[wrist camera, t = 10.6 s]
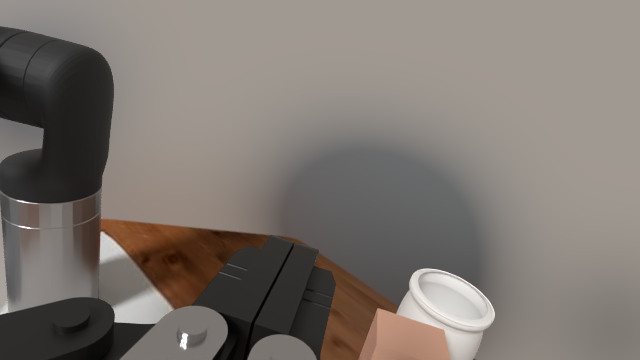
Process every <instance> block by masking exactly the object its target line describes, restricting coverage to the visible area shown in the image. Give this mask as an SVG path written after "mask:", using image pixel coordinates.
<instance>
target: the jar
mask: <svg viewBox="0 0 640 360" xmlns="http://www.w3.org/2000/svg"><path fill="white" fill-rule="evenodd" d="M409 287H410V290H409V291H408V293H407V294H406V295H405V297H404V299H403V300H402V302H401V304H400V306H399V308H398V311H397V313H396V314H397V315H400V316H403V317H406V318H409V319H412V320H415V321H418V322H421V323H424V324H428V325H431V326H434V327H437V328H440V329H443V330H444V332H445V336H446V341H447V345H448V350H449V354H450V359H451V360H473V359H474V357H475V355H476V353H477V351H478V349H479V346H480V343H481V340H482V336H483V331H484V330H485V329H487V328H488V327H489V326H490V325H491V324H492V322H493V320H494V316H495V313H494V309H493V307H492V305H491V303H490V302H489V300H488V299H487V298H486V297H485V296H484V295H483V294H482V293H481V292H480V291H479V290H478V289H477V288H475V287H474V286H473V285H471V284H470V283H468V282H467V281H465V280H463V279H461V278H460V277H457V276H455V275H453V274H450V273H448V272H445V271H441V270H436V269H421V270H418V271H416V272H415V273H414V274H413V275H412V278H411V279H410V283H409Z"/></svg>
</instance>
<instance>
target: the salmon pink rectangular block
mask: <svg viewBox="0 0 640 360" xmlns="http://www.w3.org/2000/svg"><path fill="white" fill-rule="evenodd" d="M359 360H451V359H450V354H449V350H448V345H447V341H446V336H445V332H444V330H443V329H440V328H437V327H434V326H431V325H428V324H424V323H421V322H418V321H415V320H412V319H409V318H406V317H403V316H400V315H397V314H394V313H391V312H388V311H385V310H382V309H379V308H378V309H377V312H376V314H375V317H374V320H373V322H372V325H371V328H370V330H369V333H368V336H367V338H366V341H365V344H364V346H363V349H362V352H361V354H360V357H359Z"/></svg>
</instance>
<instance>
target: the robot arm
mask: <svg viewBox="0 0 640 360" xmlns="http://www.w3.org/2000/svg"><path fill="white" fill-rule="evenodd" d="M113 99H114V84H113V76H112V72H111V69H110V66H109V64H108V62H107V61H106V60H105V58H104V57H103V56H102V55H101V54H100V53H99V52H98V51H96V50H94V49H92V48H89V47H86V46H83V45H80V44H76V43H72V42H69V41H65V40H61V39H57V38H53V37H49V36H45V35H41V34H37V33H33V32H29V31H25V30H19V29H14V28H7V27H0V118H4V119H7V120H11V121H15V122H19V123H23V124H28V125H31V126H36V127H40V128H44V136H43V137H44V138H43V147H42V149H34V150H29V151H23V152H20V153H16V154H14V155H11V156H9V157H7V158H5V159H4V160H3V161H2V162H1V163H0V207H1V219H2V232H3V245H4V258H5V270H6V283H7V298H8V311H9V313H6V314H2V315H0V360H320V352H321V348H322V343H323V339H324V334H325V330H326V326H327V321H328V317H329V312H330V308H331V303H332V299H333V295H334V290H335V286H336V283H335V280H334V278H333V275H332V272H331V271H328V270H325V269H322V268H319V267H316V266H315V264H316V260H317V257H318V253H319V250H318V249H315V248H312V247H309V246H305V245H302V244H299V243H296V244H295V242H292V241H289V240H286V239H283V238H280V237H277V236H273V235H271V236H270V237H269V239H268V240H267V242H266V243H265V245H264V246H263V247H262V249H259V248H256V247H253V246H247V247H245V248H243V249H241V250H239V251H237V252H235V253H234V254H233V256H232V257H231V258H230V259H229V261H228V262H227V264H225V265H224V267H223V268H222V269H221V270H220V273H218V274H217V275H216V276H215V278H214V279H213V280H212V281H211V283H210V284H209V285H208V286H207V287H206V289H205V290H204V291H203V292H202V294H201V295H200V296H199V297H198V298H197V300H196V301H195V302H194V303H193V305H192V306H187V307H182V308H179V309H176V310H174V311H171V312H170V313H168V314H167V315H165V316H164V317H163V318H162V319H161V320H160V321H159V322H158V323H157V324H132V323H116V322H114V318H115V314H114V310H113V309H112V307H111V306H110V305H109V304H108V303H106V302H105V301H103V300H100V299H98V291H99V263H100V230H101V192H102V189H101V188H102V175H103V172H104V168H105V165H106V162H107V158H108V151H109V138H110V128H111V119H112V111H113ZM294 245H295V246H294Z"/></svg>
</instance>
